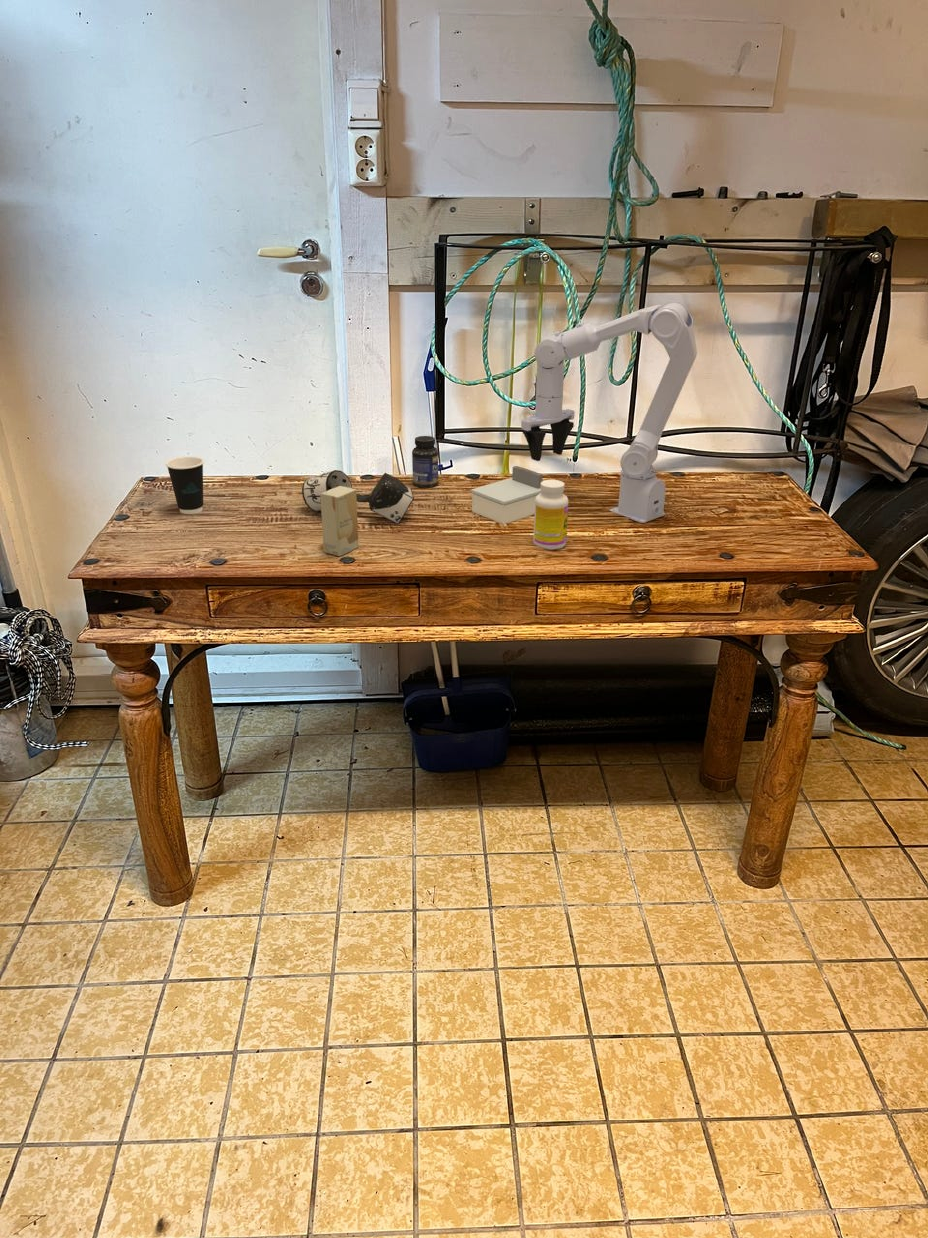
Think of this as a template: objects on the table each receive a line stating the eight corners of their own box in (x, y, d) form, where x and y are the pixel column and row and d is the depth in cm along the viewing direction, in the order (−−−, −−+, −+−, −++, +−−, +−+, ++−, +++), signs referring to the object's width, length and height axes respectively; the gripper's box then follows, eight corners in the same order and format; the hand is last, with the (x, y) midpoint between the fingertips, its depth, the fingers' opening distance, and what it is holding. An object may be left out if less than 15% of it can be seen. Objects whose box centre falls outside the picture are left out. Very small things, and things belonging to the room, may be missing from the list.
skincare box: (340, 557, 184) (336, 497, 178) (322, 552, 186) (318, 493, 180) (360, 546, 189) (357, 488, 183) (343, 542, 191) (339, 484, 185)
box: (511, 501, 213) (512, 481, 210) (543, 513, 206) (544, 492, 204) (472, 513, 205) (472, 493, 203) (503, 526, 199) (504, 505, 197)
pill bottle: (437, 488, 220) (437, 442, 215) (411, 488, 220) (410, 442, 215) (439, 479, 226) (438, 434, 221) (413, 479, 226) (412, 434, 221)
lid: (512, 479, 211) (512, 464, 209) (545, 491, 204) (546, 475, 202) (470, 492, 203) (471, 476, 202) (504, 504, 196) (504, 488, 195)
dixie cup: (189, 501, 212) (183, 454, 207) (217, 507, 208) (211, 459, 203) (164, 513, 205) (157, 464, 200) (193, 519, 202) (186, 469, 197)
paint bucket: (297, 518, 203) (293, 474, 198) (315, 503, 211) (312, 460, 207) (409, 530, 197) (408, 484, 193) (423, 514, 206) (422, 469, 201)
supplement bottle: (567, 551, 187) (571, 489, 181) (534, 550, 187) (536, 488, 181) (564, 538, 193) (568, 478, 187) (532, 538, 193) (534, 477, 187)
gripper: (559, 386, 209) (556, 446, 215) (511, 396, 200) (510, 459, 206) (583, 392, 204) (579, 453, 210) (535, 403, 195) (533, 466, 201)
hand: (546, 456), depth 208 cm, fingers open, 6 cm apart
